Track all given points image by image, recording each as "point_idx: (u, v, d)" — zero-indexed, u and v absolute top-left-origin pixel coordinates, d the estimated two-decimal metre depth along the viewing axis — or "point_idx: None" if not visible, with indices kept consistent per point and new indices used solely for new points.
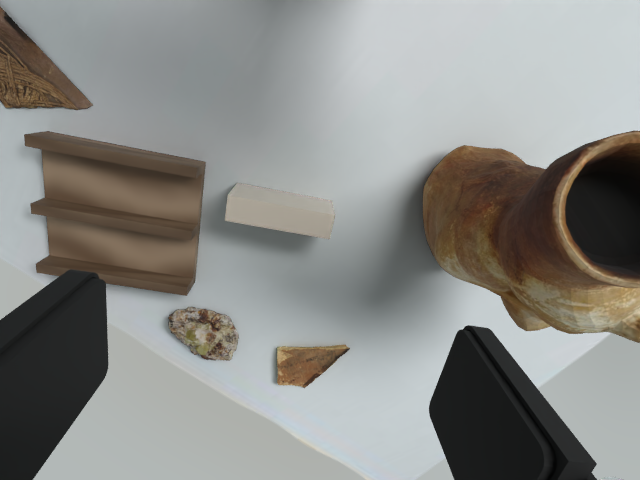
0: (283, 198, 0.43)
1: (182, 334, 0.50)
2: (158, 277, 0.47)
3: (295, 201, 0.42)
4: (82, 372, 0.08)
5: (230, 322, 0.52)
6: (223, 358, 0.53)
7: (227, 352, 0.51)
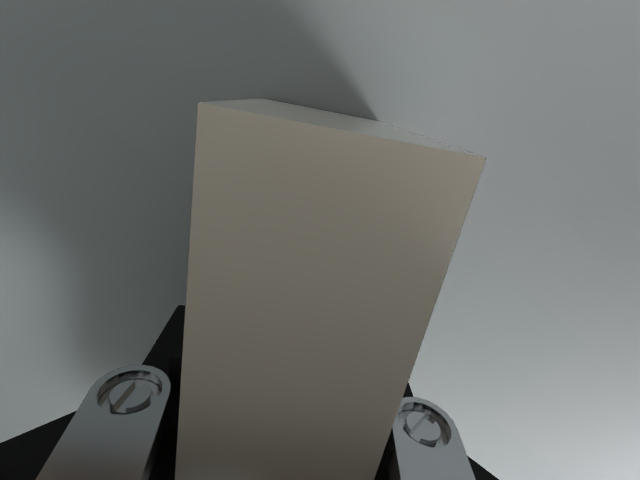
0: None
1: None
2: None
3: None
4: None
5: None
6: None
7: None
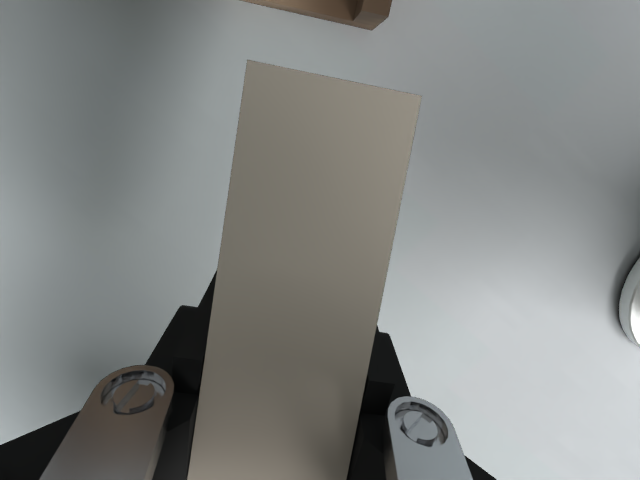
0: None
1: None
2: None
3: None
4: None
5: None
6: None
7: None
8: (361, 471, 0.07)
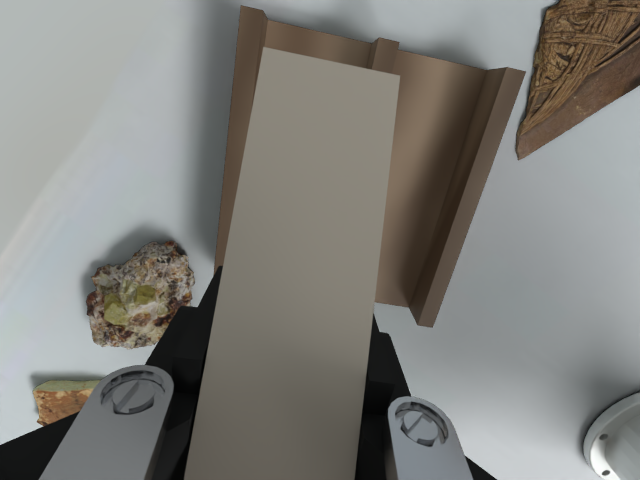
0: None
1: (143, 280, 0.27)
2: None
3: None
4: None
5: None
6: (95, 331, 0.29)
7: (113, 346, 0.29)
8: (361, 471, 0.07)
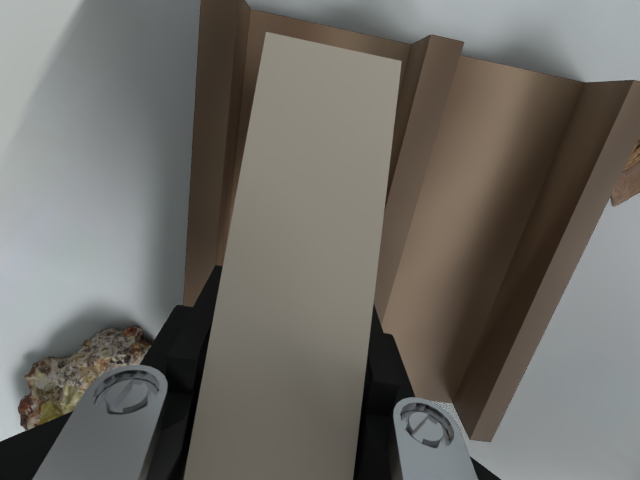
0: None
1: None
2: None
3: None
4: None
5: None
6: None
7: None
8: (366, 472, 0.07)
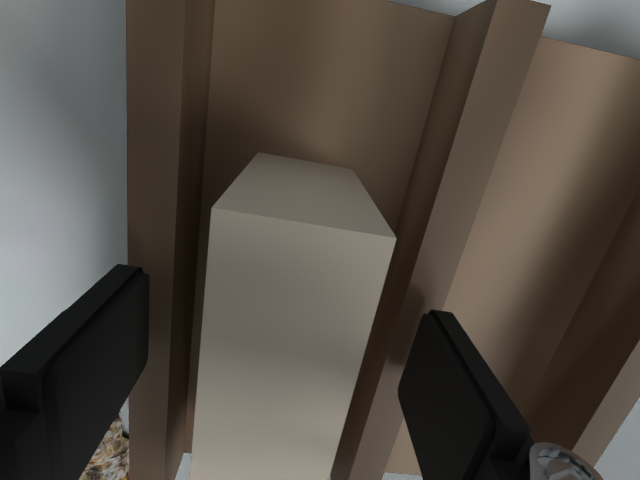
0: None
1: None
2: (180, 401, 0.13)
3: None
4: (130, 360, 0.09)
5: None
6: None
7: None
8: None
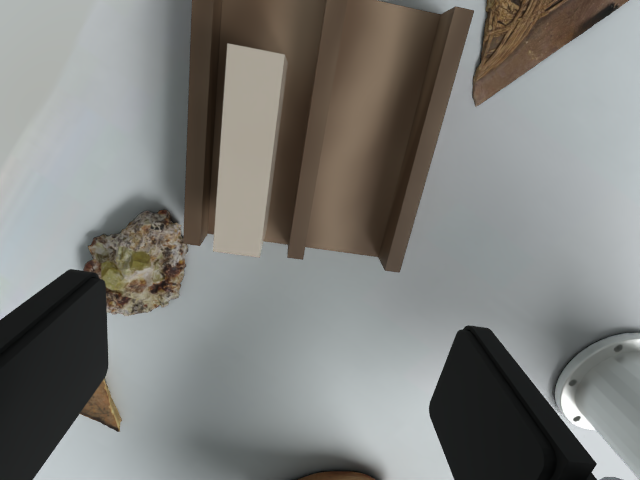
0: None
1: (138, 247, 0.28)
2: (207, 188, 0.27)
3: None
4: (82, 372, 0.08)
5: (166, 304, 0.32)
6: None
7: (111, 312, 0.30)
8: None
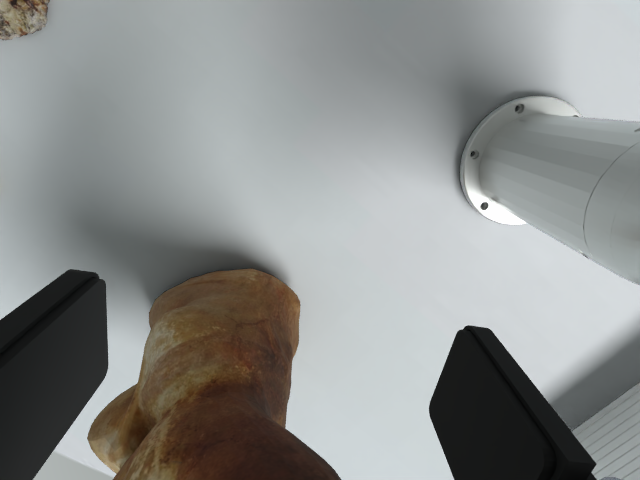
0: None
1: None
2: None
3: None
4: (82, 372, 0.08)
5: (33, 29, 0.30)
6: None
7: None
8: None
